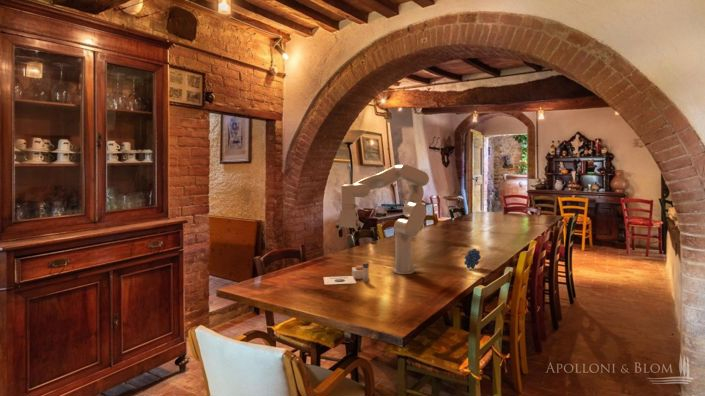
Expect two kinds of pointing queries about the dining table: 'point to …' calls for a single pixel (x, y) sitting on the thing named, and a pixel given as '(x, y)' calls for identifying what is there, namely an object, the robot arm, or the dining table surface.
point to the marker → (365, 272)
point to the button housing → (357, 273)
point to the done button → (359, 267)
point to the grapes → (472, 258)
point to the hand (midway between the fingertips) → (348, 237)
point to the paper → (339, 280)
